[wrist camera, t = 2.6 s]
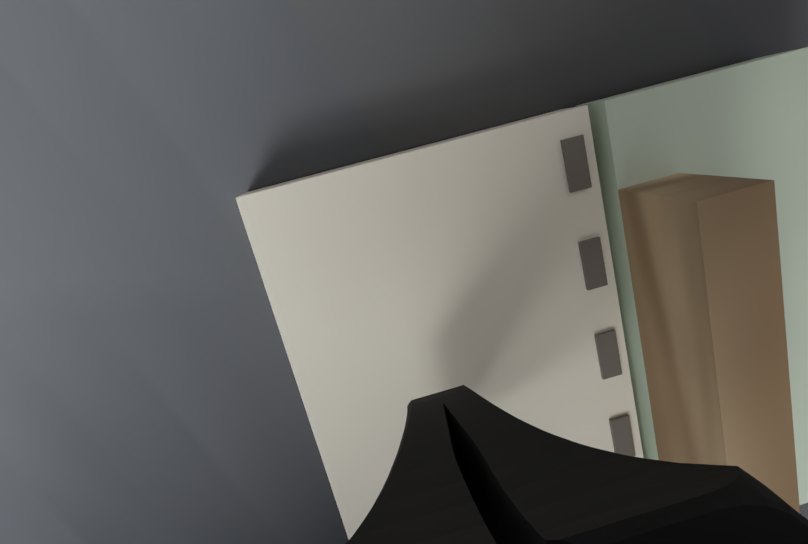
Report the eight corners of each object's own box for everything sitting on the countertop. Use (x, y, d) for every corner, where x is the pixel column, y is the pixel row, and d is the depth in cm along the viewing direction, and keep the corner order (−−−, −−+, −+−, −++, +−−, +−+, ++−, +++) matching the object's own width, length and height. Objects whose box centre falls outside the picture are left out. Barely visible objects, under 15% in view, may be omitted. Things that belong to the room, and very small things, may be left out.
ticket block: (375, 586, 16) (379, 634, 14) (246, 191, 13) (233, 198, 11) (628, 508, 16) (659, 546, 15) (560, 109, 13) (589, 104, 12)
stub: (641, 509, 16) (746, 634, 12) (575, 105, 13) (683, 86, 9) (795, 462, 17) (948, 568, 12) (762, 56, 14) (950, 16, 9)
